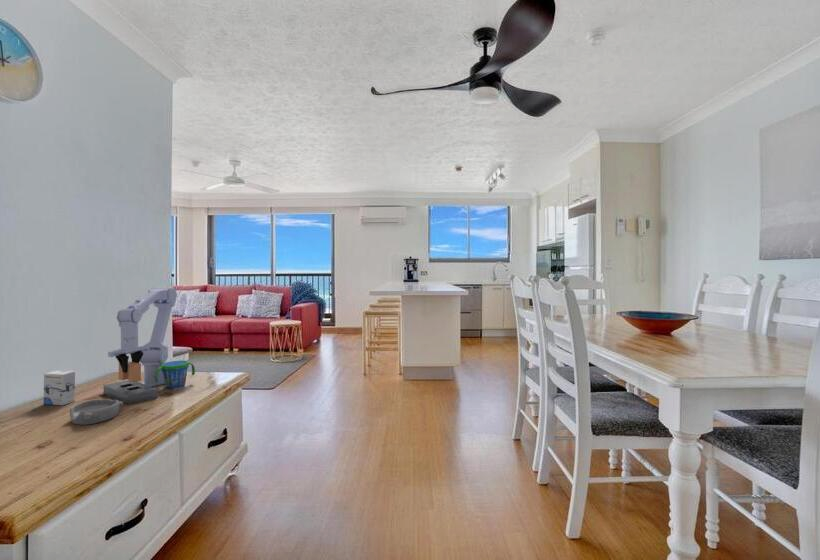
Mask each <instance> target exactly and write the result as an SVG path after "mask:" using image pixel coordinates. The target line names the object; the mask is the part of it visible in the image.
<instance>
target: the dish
mask: <svg viewBox="0 0 820 560" xmlns="http://www.w3.org/2000/svg"><path fill="white" fill-rule="evenodd" d="M123 405H124V402H122V401H119V400H117V399H111V398H98V399H90V400H86V401H82V402H78V403H76V404H74V405H73V406H71V407H70V409H69V418H70V420H71V423H72V424H75V425H80V426H83V425H84V426H85V425H93V424H98V423H101V422H105V421H108V420H110V419H111V420H112V419H113V418H115V417H116V416H117V415H118V414H119V413H120V412H119V411H120V409H121V408H122V407H123Z"/></svg>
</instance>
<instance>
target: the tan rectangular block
mask: <svg viewBox="0 0 820 560" xmlns="http://www.w3.org/2000/svg"><path fill="white" fill-rule="evenodd" d="M117 378H118V380H120V381H127V380H128V382H141V380H142V379H141V378H142V363H140V362H139V363H136V362H132V361H130V360H128V372H127V373H124V372H123V371H122V368H121V365H120V363H119V362H118V377H117Z"/></svg>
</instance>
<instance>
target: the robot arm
mask: <svg viewBox="0 0 820 560" xmlns="http://www.w3.org/2000/svg"><path fill="white" fill-rule="evenodd" d="M177 297H178V294H177V290H176V287H175V288H174V287H173V286H170V287H155V286H154V287H153V286H152V287H150V288H149V289H148V294H146V295H145V296H144V297H143V298H142V299H141V298H137V299H135V301H134V302H133V303H131V304H129V306H128V307H125V308H121V309H120V310H119V311H118V312H117V316H116V320H117V322H118V326H119V327H120V348H119V349H116V350H110V351H107V354H108V355H107V356H108V357H109V358H113V357H115V359H116V360H117V362H118V364H119V363H120V365H121V368H122V371H123V372H124V373H127V372H128V361H129V358H130V359H131V362H136V363H141V366H143V382H141V383H142V384H145V385H148V386H150V387H155V386H160V385H164V384H165V381H164V375H163V372H162V369H160V370H159V371H158V372H157V380H158V382H156V381H155V378H154V376H155V372H156V370H157V369H158V368H159V367H160V366H161V365H162V364H163V363H166V362H167V360H168V357H169V347H168V346H167V345H166V344H165V343H164V340H165V337H166V333H167V328H168V325H169V321H170V318H171V317H170V316H171V312H172V309H173V307H175V305H176V301H177ZM150 305H153V306H154V307H155V308H157V309H158V310H157V313H156V318H155V321H154V324H153V329H152V333H151V337H150V339H149V341H148V342H146V343H145V344H144V345H141V346H139V322H140V321H141V319H142V317H143V315H144V314H145V313H146V312H147V311H149V309H150ZM129 354H130V356H129Z"/></svg>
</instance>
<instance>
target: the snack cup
mask: <svg viewBox="0 0 820 560" xmlns="http://www.w3.org/2000/svg"><path fill="white" fill-rule="evenodd" d="M189 365H191V375H192V376H194V375H195V373H196V367H195V365H194V364H193V363H192V362H189V361H188V360H172V361H168V362H167V361H166V363H163V364H162V365H161V366H160V367H159V368H158V369H157V370H156V372H155V376H154V378H155V381H156V382H158V380H157V372H158V371H159V370H160V369H162V372H163V375H164V381H165V388H169V389H176V387H177V388H180V387H183V386H185V385H186V381H187V374H188V368H189Z"/></svg>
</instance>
